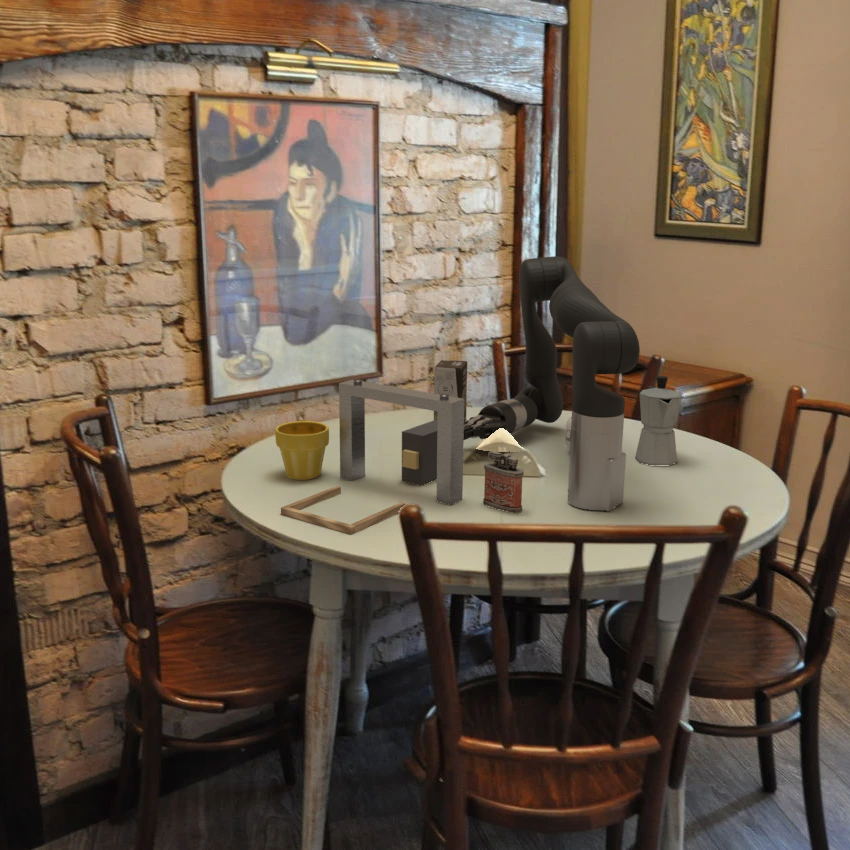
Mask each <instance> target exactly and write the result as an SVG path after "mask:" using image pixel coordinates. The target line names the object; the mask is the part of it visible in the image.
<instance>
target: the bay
mask: <svg viewBox="0 0 850 850" xmlns="http://www.w3.org/2000/svg"><path fill="white" fill-rule="evenodd" d="M341 493H342V487H341V486H339V485H336V486H333V487H330V488H328V489H325V490H323V491H320V492H317V493H315V494H313V495H310V496H307V497H305V498H302V499H299V500H297V501H294V502H292V503H289V504H287V505H284V506H282V507H280V515H283V516H287V517H289V518H293V519H296V520H300V521H303V522H306V523H311V524H314V525H317V526H320V527H324V528H327V529H331V530H335V531H338V532H342V533H345V534H348V535H353V534H356V533H357V532H359V531H362V530H364V529H366V528H368V527H370V526H373V525H375V524H377V523H379V522H382V521H384V520H386V519H388V518H390V517H393V516H395V515H397V514H399V513H398V511H399V510H400V508H401V507H403V506H404V505H405V506H406V503H405V502H398V503H396V504H394V505H392V506H389V507H387V508H385V509H383V510H381V511H378V512H376V513H374V514H372V515H369V516H367V517H364V518H362V519H360V520H358V521H355V522H353V523H351V524H349V523H347V522H346V523H345V522H342V521H339V520H335V519H332V518H328V517H324V516H321V515H319V514H318V515H317V514H315V513H311V512H308V511H307V512H306V511H303V510H302V509H305V508H307V507H310V506H312V505H314V504H317V503H320V502H322V501H325V500H327V499H329V498H332V497H335V496H337V495H338V496H339V494H341ZM394 514H395V515H394ZM392 515H393V516H392Z"/></svg>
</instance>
